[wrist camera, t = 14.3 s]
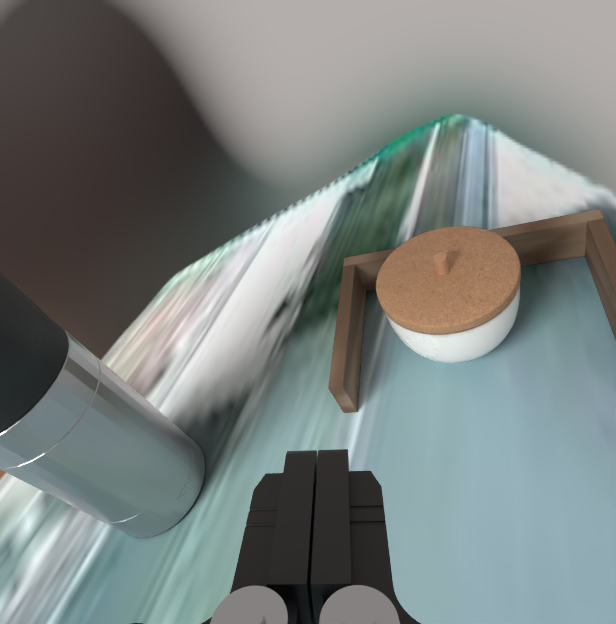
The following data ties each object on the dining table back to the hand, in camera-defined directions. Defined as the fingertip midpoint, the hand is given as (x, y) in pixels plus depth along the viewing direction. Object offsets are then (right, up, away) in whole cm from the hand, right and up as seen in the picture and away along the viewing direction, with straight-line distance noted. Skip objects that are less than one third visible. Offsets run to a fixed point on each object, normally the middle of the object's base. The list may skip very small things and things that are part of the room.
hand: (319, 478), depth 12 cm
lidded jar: (+13, +2, +29) cm, 32 cm away
